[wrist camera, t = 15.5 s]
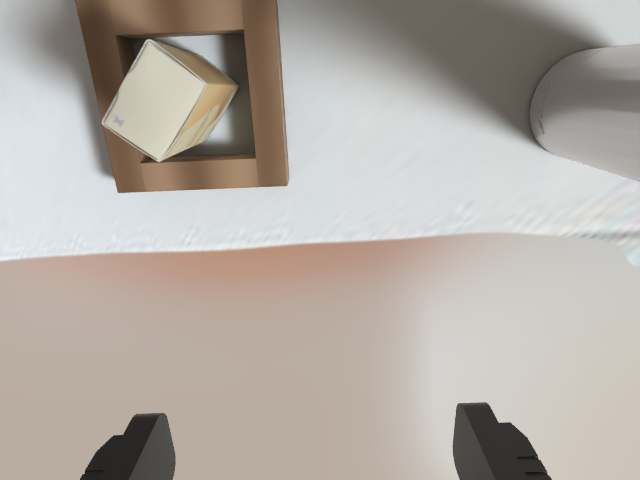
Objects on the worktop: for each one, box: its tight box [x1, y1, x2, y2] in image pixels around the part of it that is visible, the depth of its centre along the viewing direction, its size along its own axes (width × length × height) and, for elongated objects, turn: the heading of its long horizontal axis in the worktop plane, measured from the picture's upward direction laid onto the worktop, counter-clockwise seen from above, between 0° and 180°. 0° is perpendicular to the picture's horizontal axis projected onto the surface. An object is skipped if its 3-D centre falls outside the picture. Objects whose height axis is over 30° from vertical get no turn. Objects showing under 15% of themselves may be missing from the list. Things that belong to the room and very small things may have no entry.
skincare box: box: [101, 39, 240, 162], centre depth 31 cm, size 6×4×12 cm
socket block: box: [75, 0, 289, 193], centre depth 35 cm, size 15×15×3 cm
